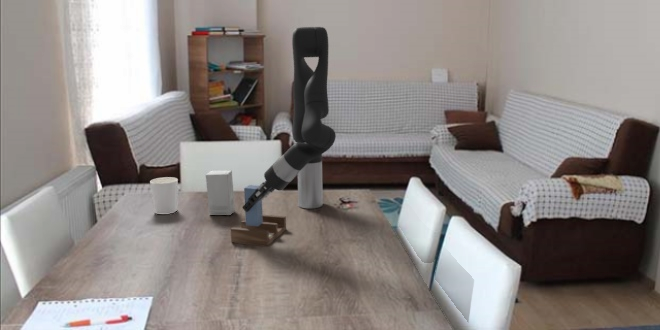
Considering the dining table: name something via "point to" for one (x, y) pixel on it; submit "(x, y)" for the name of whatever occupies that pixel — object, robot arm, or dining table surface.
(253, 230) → the rack
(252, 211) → the block
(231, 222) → the dining table surface
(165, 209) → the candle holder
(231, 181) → the skincare box
